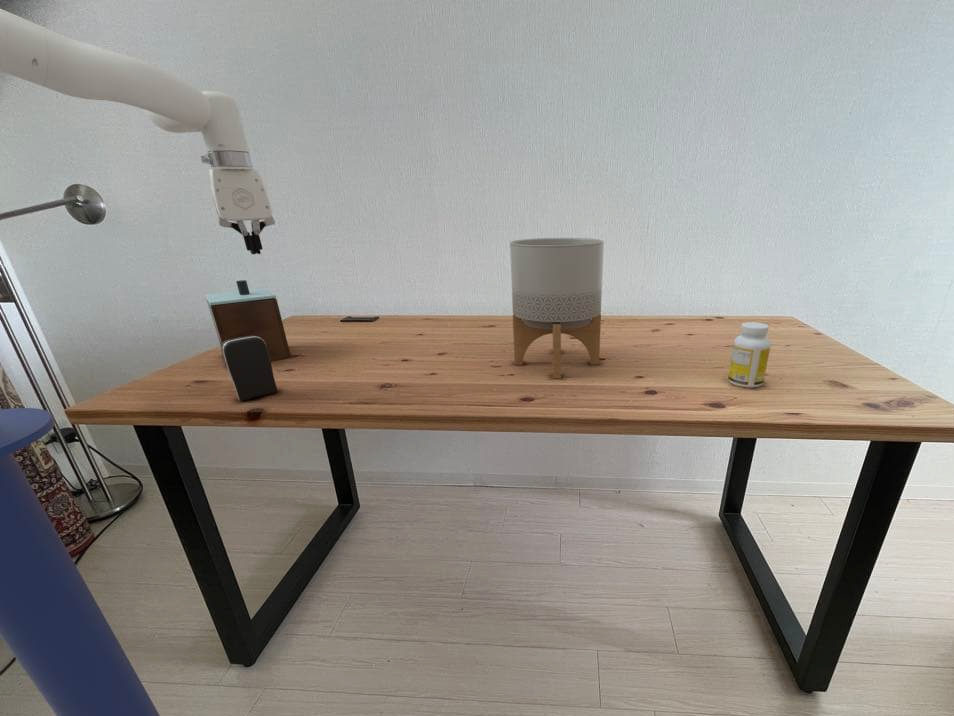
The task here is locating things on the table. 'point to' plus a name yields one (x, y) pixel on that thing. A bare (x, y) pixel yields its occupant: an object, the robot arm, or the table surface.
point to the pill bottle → (750, 355)
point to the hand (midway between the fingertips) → (255, 253)
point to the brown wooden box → (252, 324)
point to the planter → (556, 293)
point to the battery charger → (249, 367)
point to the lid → (239, 295)
